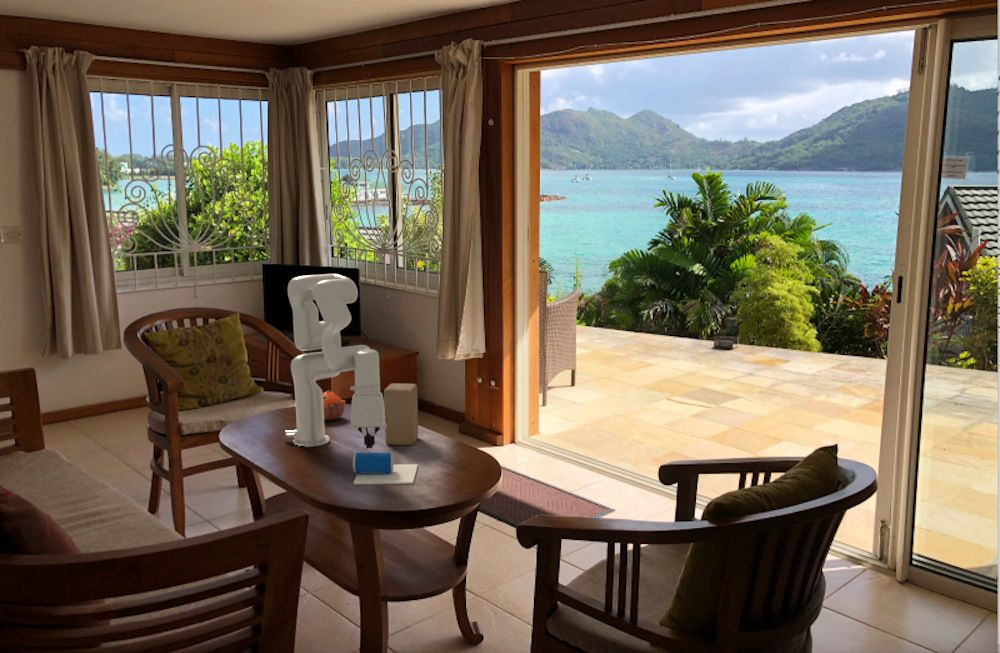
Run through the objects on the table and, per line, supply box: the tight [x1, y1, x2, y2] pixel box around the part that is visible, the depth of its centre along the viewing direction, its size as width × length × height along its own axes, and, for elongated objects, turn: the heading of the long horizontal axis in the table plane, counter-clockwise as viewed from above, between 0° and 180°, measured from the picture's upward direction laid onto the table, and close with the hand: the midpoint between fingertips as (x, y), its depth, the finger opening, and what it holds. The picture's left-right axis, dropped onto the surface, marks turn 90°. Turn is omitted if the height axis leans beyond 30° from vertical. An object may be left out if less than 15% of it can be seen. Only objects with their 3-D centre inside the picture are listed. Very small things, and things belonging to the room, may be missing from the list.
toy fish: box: [323, 389, 346, 421], centre depth 321 cm, size 12×10×11 cm
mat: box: [353, 463, 419, 485], centre depth 261 cm, size 18×16×1 cm
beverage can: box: [352, 452, 395, 475], centre depth 260 cm, size 6×6×12 cm
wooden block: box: [383, 382, 419, 446], centre depth 293 cm, size 10×10×20 cm
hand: (369, 447), depth 259 cm, fingers closed
